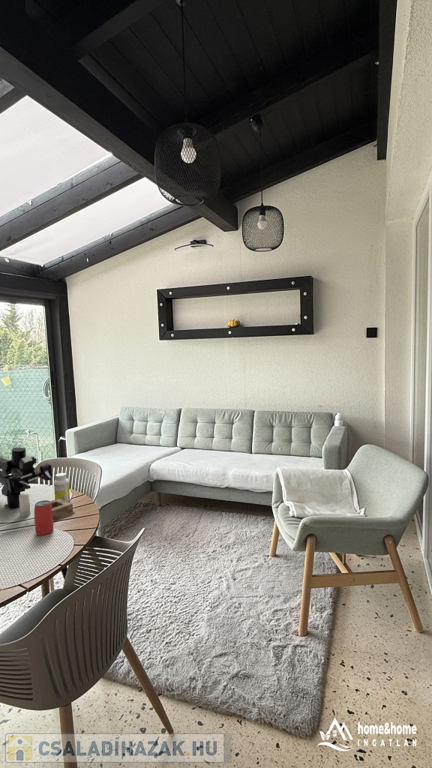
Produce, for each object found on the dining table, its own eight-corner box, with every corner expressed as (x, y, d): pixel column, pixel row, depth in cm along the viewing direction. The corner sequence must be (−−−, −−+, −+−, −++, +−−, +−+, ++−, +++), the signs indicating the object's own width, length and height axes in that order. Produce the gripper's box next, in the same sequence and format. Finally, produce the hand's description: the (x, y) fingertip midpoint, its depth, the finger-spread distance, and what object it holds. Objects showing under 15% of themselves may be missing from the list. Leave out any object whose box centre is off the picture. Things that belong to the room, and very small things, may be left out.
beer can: (47, 536, 160) (45, 506, 159) (32, 535, 162) (30, 505, 160) (56, 529, 167) (55, 500, 165) (42, 527, 168) (40, 499, 167)
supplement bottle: (64, 496, 202) (63, 471, 200) (72, 499, 198) (71, 473, 196) (52, 501, 196) (50, 475, 195) (60, 504, 192) (58, 477, 191)
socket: (34, 515, 180) (33, 506, 180) (59, 506, 190) (59, 497, 189) (49, 522, 173) (48, 512, 173) (74, 512, 182) (74, 503, 182)
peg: (18, 515, 181) (17, 495, 180) (27, 512, 184) (26, 492, 183) (23, 517, 179) (21, 497, 178) (32, 514, 182) (30, 494, 181)
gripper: (-2, 463, 175) (16, 473, 165) (40, 449, 189) (58, 458, 179) (1, 487, 177) (19, 498, 168) (42, 471, 191) (61, 481, 182)
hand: (40, 483), depth 174 cm, fingers open, 9 cm apart
